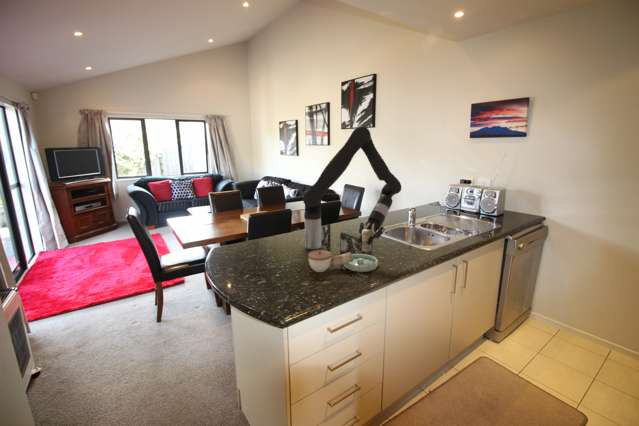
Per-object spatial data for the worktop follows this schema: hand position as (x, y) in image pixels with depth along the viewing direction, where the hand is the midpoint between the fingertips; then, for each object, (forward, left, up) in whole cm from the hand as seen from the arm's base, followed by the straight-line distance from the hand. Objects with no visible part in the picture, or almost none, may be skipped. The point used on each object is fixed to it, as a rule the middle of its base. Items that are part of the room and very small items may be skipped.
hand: (364, 243), depth 147 cm
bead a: (+2, +1, -4) cm, 5 cm away
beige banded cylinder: (-7, -4, -5) cm, 9 cm away
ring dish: (-2, -2, -10) cm, 11 cm away
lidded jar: (-22, -5, -11) cm, 25 cm away
